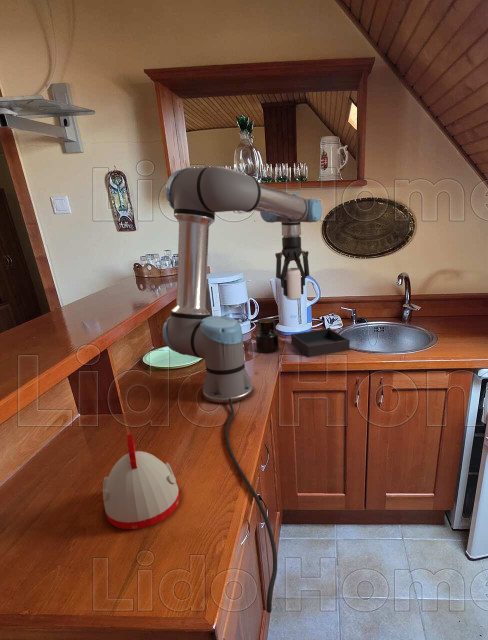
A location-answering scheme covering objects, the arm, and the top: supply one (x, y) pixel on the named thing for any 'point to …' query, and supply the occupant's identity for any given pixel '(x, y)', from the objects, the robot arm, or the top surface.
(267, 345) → the ink bottle
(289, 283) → the can
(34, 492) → the top surface
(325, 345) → the pan
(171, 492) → the toy helmet
